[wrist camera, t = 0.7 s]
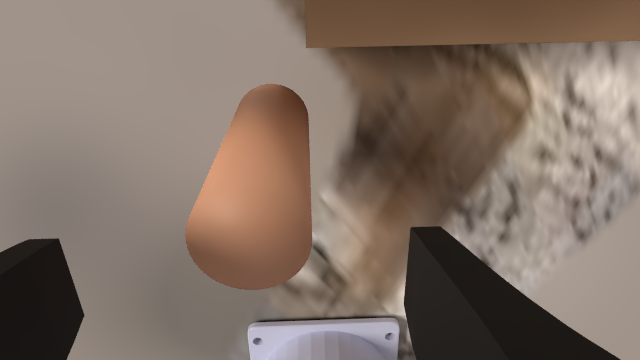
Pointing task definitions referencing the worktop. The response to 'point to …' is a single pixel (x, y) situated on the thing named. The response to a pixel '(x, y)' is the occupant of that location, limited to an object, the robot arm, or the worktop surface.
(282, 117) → the peg
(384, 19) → the walnut stand
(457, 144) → the worktop surface
